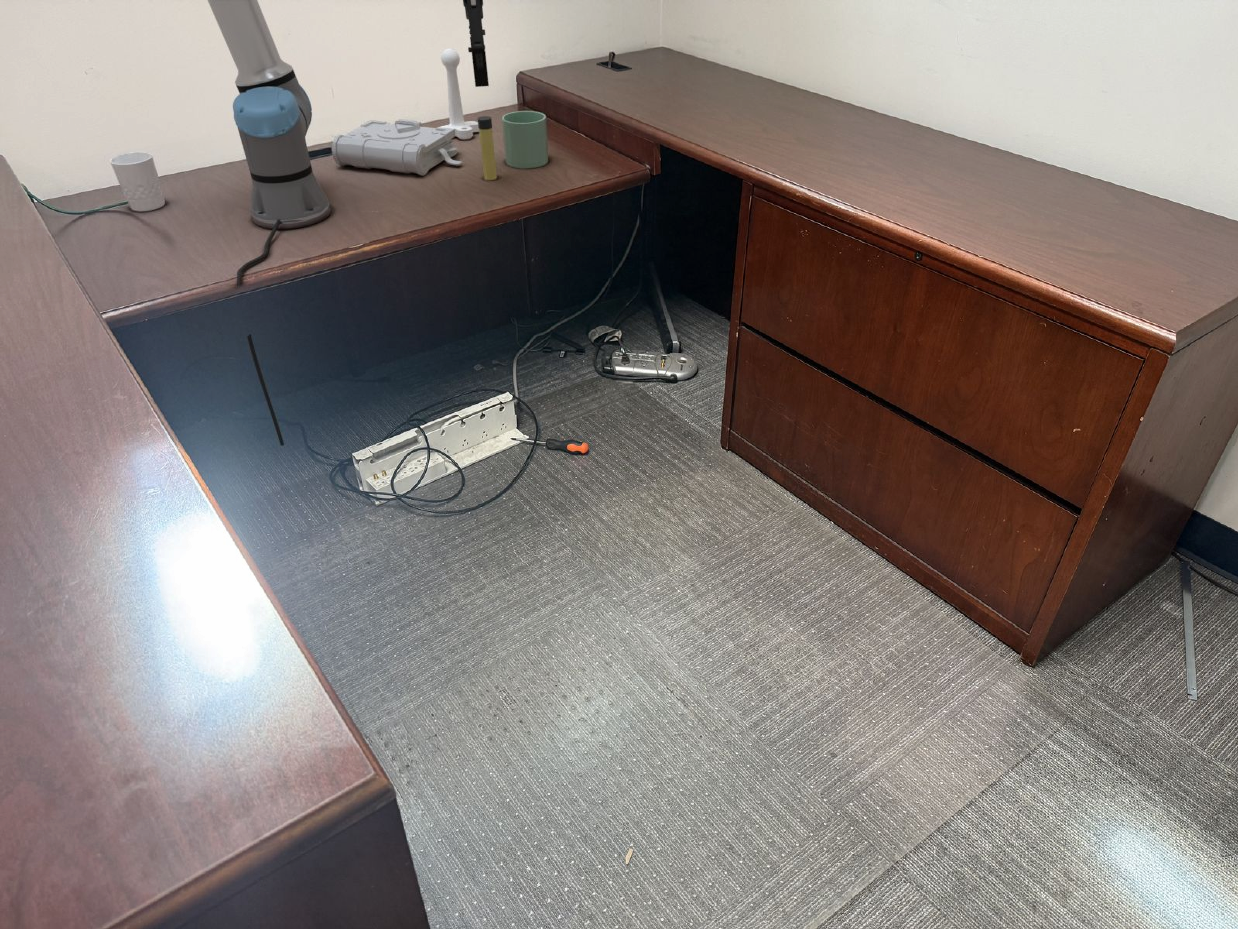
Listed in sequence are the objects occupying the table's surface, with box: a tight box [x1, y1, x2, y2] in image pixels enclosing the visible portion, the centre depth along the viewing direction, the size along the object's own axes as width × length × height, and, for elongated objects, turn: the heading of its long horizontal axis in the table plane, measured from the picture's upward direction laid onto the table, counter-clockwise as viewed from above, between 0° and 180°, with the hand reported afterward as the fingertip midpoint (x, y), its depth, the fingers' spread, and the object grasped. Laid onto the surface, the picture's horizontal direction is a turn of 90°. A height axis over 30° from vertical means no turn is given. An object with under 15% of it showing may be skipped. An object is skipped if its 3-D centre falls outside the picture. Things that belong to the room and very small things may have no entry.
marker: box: [477, 115, 498, 181], centre depth 186 cm, size 3×3×13 cm
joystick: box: [439, 48, 479, 140], centre depth 208 cm, size 11×8×20 cm
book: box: [331, 118, 463, 177], centre depth 197 cm, size 19×28×8 cm
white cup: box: [109, 151, 166, 212], centre depth 175 cm, size 8×8×10 cm
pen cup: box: [501, 110, 549, 169], centre depth 196 cm, size 10×10×10 cm
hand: (481, 77), depth 177 cm, fingers open, 13 cm apart
